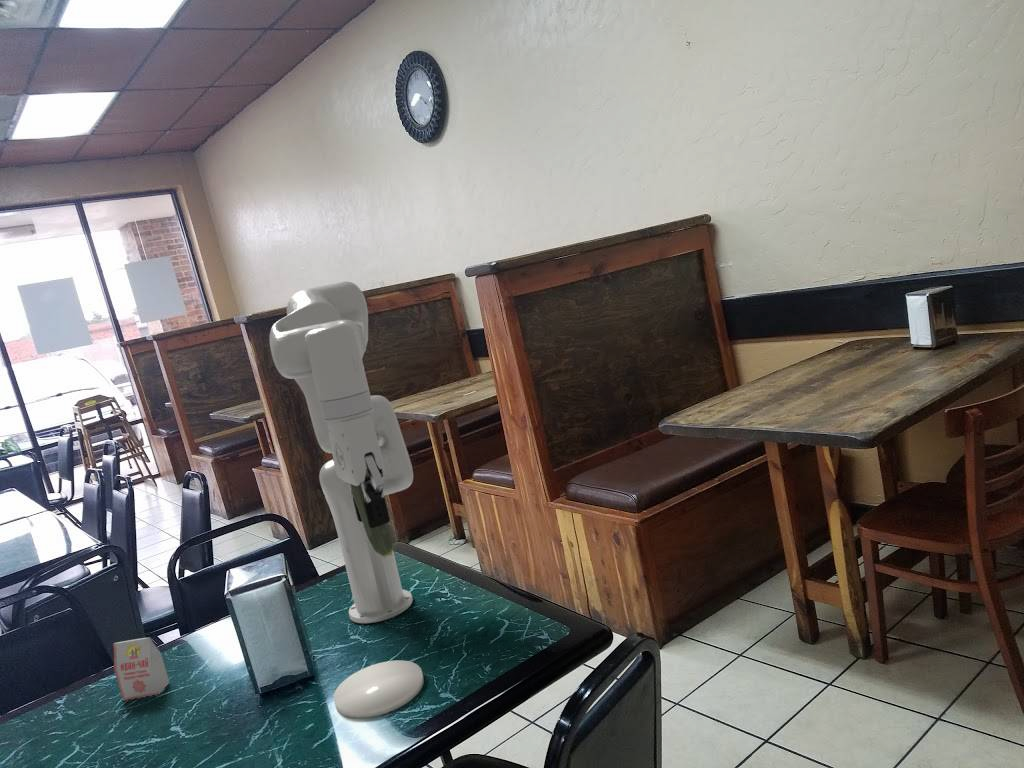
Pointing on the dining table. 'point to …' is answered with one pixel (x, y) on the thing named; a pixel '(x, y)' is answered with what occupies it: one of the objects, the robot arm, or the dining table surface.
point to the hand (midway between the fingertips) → (373, 520)
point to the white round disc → (378, 689)
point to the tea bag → (139, 668)
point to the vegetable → (376, 535)
